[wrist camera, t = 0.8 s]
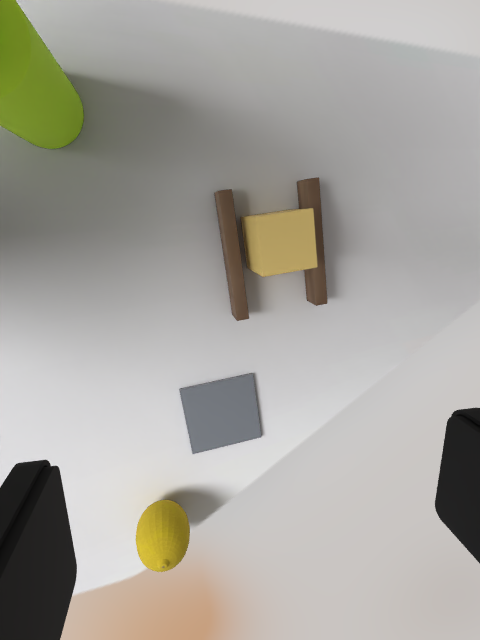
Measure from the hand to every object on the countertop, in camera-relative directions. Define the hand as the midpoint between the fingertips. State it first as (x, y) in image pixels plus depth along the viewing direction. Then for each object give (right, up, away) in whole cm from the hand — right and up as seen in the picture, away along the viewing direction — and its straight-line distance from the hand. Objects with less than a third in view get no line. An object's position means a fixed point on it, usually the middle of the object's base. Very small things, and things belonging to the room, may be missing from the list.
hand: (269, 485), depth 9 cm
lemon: (-10, -17, +34) cm, 39 cm away
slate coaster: (-3, -6, +32) cm, 33 cm away
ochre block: (+2, +12, +28) cm, 30 cm away
